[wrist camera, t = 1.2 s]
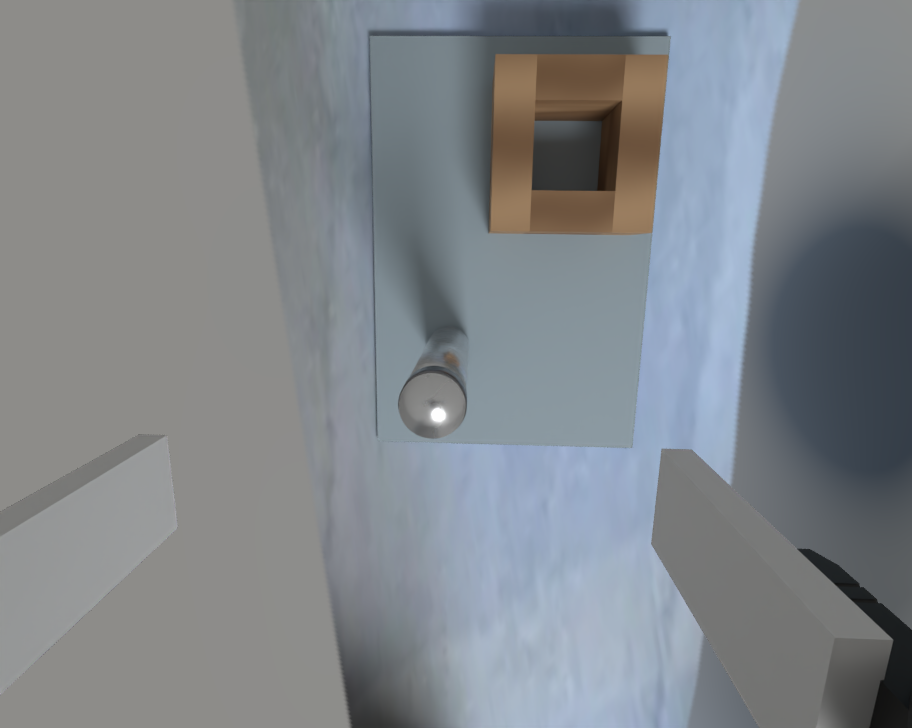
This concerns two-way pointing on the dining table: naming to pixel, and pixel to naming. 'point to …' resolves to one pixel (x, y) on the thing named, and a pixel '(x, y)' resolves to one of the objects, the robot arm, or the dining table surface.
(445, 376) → the metal cylinder rod
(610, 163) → the wooden block with hole
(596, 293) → the mat
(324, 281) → the dining table surface
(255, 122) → the dining table surface
